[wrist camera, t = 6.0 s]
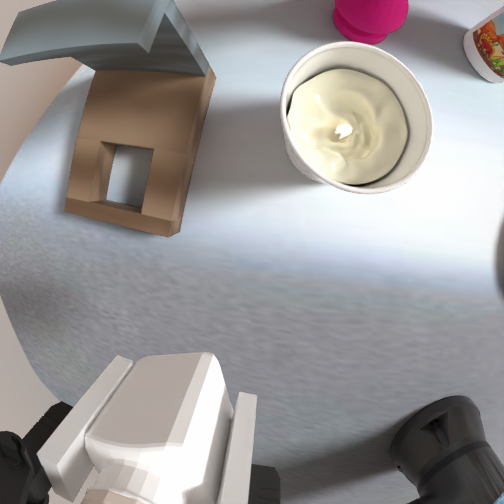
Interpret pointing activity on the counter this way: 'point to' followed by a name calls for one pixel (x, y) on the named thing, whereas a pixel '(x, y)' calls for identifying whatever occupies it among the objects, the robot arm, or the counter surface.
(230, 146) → the counter surface
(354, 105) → the candle holder
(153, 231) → the socket stand
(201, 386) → the salt shaker
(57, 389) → the counter surface
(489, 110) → the counter surface
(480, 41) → the milk bottle
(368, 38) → the pepper mill
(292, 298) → the counter surface
